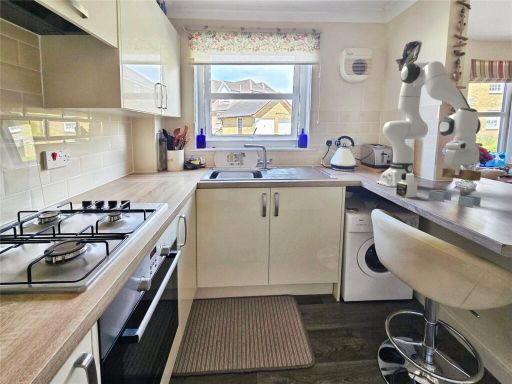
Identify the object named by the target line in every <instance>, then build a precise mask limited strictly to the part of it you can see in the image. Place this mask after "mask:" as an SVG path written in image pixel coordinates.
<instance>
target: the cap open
mask: <svg viewBox="0 0 512 384" xmlns="http://www.w3.org/2000/svg"><path fill="white" fill-rule="evenodd" d="M481 201H482V197H481V196H476V195H469V194H466V195H465V196H462V195H459V196H458V203H457V204H458V206H462V207H465V208H474V207H481Z"/></svg>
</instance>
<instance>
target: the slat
mask: <svg viewBox="0 0 512 384" xmlns="http://www.w3.org/2000/svg"><path fill="white" fill-rule="evenodd" d="M459 169H460V168H459ZM460 171H461V174H460V175H455V169H454V168H452V167H451V168H450V167H443V168H442V175H441V176H442V178H450V179H457V180H466V181H473V182H479V181H481V178H482V171H479V170H478V171H477V170H472V169H471V170H463V169H462V168H461V169H460Z"/></svg>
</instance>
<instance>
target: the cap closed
mask: <svg viewBox="0 0 512 384" xmlns="http://www.w3.org/2000/svg"><path fill="white" fill-rule="evenodd" d="M452 193H453V192H452V191H447V190H441V189H433V190H428V199H429V200H433V201H437V202H445V200H446V201H452Z"/></svg>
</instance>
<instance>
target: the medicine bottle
mask: <svg viewBox="0 0 512 384" xmlns="http://www.w3.org/2000/svg"><path fill="white" fill-rule="evenodd" d="M401 181H402V182H397V187H396V189H395V190H396V191H395V196H398V197H400V198H401V197H402V198H405V199H410V198H416V197H417V196H418V184H419V183H418V182H415V174H414V173H413V172H412V173H403V174H402V175H401Z"/></svg>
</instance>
